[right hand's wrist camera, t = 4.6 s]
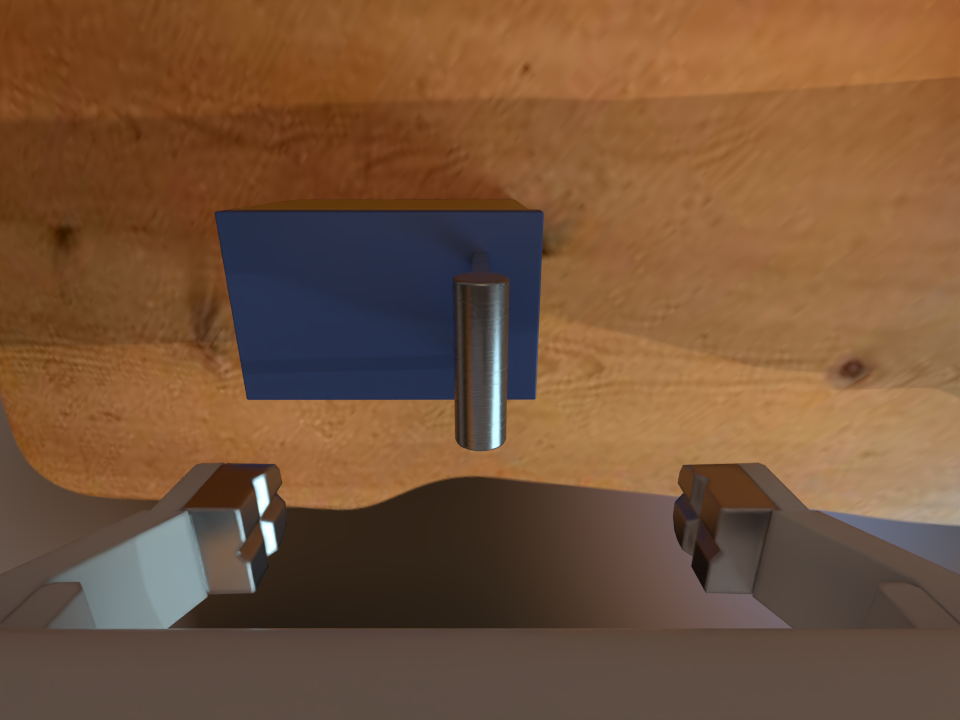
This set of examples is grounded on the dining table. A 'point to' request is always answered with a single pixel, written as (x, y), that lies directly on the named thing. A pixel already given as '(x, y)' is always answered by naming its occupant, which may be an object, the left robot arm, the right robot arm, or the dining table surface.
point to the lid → (388, 307)
